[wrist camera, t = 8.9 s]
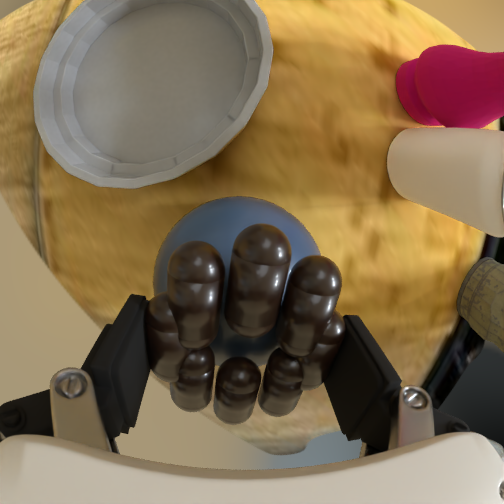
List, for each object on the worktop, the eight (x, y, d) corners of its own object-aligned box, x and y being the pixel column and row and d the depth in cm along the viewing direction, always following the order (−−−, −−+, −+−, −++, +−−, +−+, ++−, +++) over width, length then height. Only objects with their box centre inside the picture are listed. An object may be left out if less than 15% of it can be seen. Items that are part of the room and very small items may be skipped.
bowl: (91, 6, 12) (69, -13, 8) (277, 2, 14) (287, -26, 10) (55, 176, 18) (23, 184, 13) (245, 190, 20) (249, 201, 15)
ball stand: (183, 175, 19) (126, 206, 8) (304, 191, 20) (381, 240, 9) (175, 285, 22) (140, 392, 11) (282, 296, 23) (317, 403, 12)
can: (419, 116, 18) (529, 116, 7) (446, 177, 20) (546, 208, 9) (371, 150, 19) (487, 166, 8) (403, 214, 21) (505, 268, 10)
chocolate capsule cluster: (153, 204, 8) (135, 218, 7) (361, 232, 9) (386, 250, 8) (159, 394, 12) (153, 422, 10) (300, 403, 12) (306, 430, 11)
